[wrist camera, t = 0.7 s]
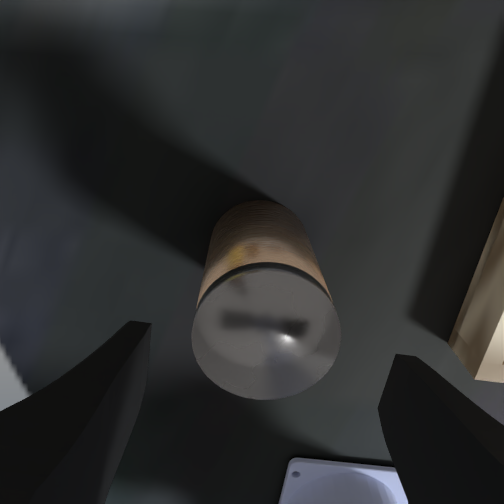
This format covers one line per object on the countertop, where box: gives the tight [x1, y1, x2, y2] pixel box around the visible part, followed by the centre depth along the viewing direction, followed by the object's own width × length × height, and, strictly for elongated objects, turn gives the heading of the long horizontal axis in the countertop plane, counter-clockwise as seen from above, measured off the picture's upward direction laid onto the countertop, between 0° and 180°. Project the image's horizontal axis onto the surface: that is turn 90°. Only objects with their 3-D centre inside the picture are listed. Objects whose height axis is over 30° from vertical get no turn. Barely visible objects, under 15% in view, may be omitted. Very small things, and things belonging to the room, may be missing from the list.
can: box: [192, 200, 341, 400], centre depth 18 cm, size 5×5×8 cm
